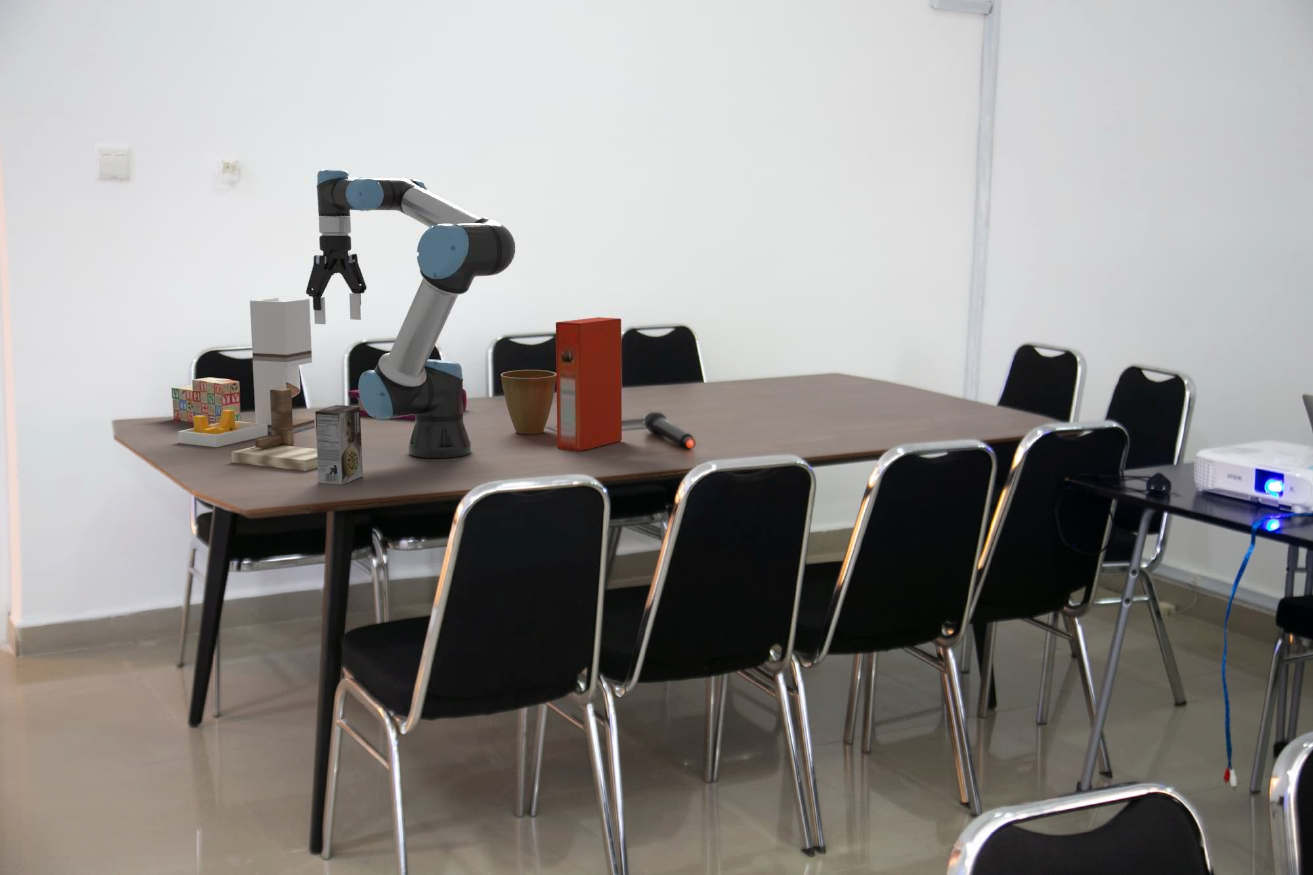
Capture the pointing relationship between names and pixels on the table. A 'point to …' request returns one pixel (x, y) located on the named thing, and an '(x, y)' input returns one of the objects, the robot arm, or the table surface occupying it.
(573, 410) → the file binder
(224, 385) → the stack of blocks
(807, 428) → the table surface
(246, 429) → the clamp rest frame
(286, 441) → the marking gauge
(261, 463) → the pine board
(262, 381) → the white column with cutout
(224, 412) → the pipe clamp
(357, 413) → the printed food box
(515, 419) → the plant pot
